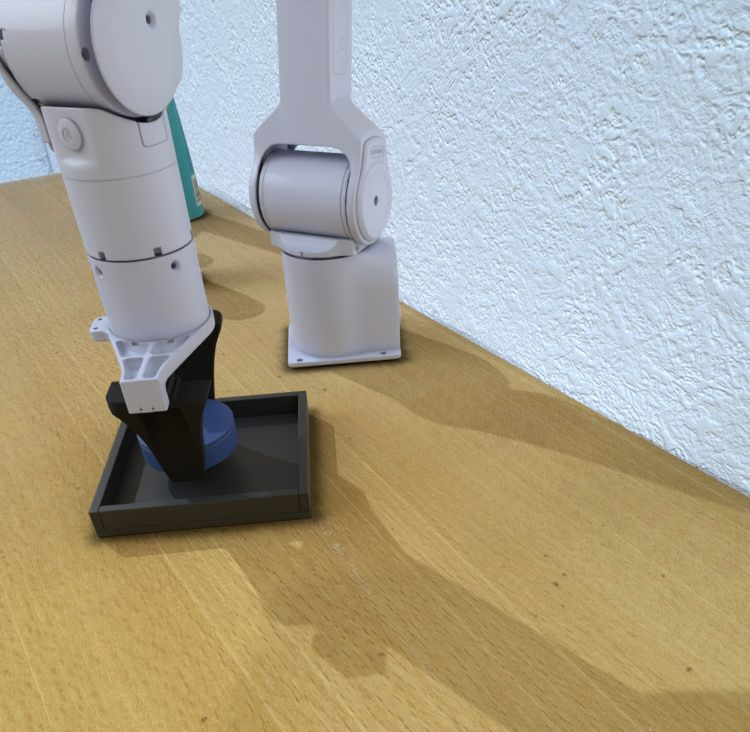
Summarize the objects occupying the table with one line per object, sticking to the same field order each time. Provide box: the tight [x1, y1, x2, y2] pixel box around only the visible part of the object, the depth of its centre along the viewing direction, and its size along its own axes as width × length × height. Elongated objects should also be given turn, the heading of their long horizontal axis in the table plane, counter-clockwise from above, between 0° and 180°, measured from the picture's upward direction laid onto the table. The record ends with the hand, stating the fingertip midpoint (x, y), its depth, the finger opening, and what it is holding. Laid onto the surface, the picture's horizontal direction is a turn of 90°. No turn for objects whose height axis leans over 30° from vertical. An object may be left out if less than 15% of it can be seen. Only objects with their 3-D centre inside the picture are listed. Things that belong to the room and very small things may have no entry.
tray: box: [88, 390, 313, 538], centre depth 47 cm, size 13×12×2 cm
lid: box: [137, 399, 238, 472], centre depth 46 cm, size 6×6×2 cm
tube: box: [166, 96, 205, 221], centre depth 85 cm, size 7×5×19 cm, turn 31°
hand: (194, 447), depth 46 cm, fingers closed on lid, 6 cm apart
